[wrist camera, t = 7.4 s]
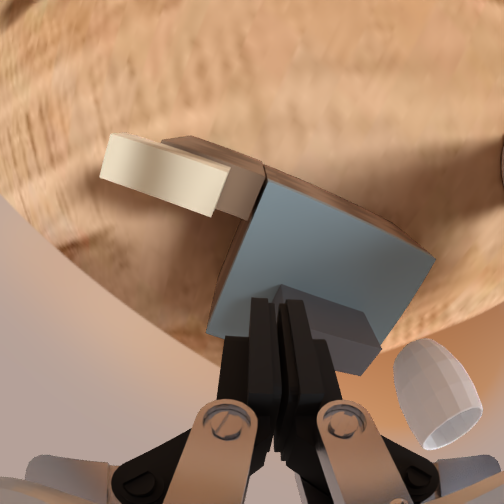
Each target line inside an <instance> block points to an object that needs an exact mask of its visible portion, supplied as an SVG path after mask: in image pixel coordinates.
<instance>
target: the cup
mask: <svg viewBox="0 0 504 504" xmlns="http://www.w3.org/2000/svg"><path fill="white" fill-rule="evenodd" d="M393 368H394V369H393V370H394V383H395V387H396V392H397V397H398V401H399V404H400V408H401V410H402V412H403V414H404V416H405V418H406V421H407V423H408V425H409V427H410V429H411V431H412V432H413V433H414V435H415V437H416V439H417V440H418V442H419V443H420V445H421V446H422V448H423V449H426V450H434V449H438V448H441V447H443V446H446V445H448V444H450V443H452V442H454V441H455V440H457V439H459V438H460V437H461V436H463V435H464V434H465V433H467V432H468V431H469V430H470V429H471V428H472V427H473V426H474V425H475V424H476V423H477V422H478V420H479V419H480V417H481V416H482V412H483V407H482V404H481V401H480V399H479V396H478V394H477V391H476V389H475V386H474V384H473V382H472V380H471V379H470V377H469V375H468V374H467V372H466V370H465V369H464V367H463V365H462V364H461V363H460V362H459V361H458V360H457V359H456V358H455V357H454V356H453V355H452V354H451V353H450V352H449V351H448V350H447V349H446V348H445V347H444V346H442V345H441V344H439V343H437V342H436V341H434V340H433V339H428V338H424V339H419V340H416V341H413V342H410V343H409V344H407V345H406V346H405V347H404V348H403V350H402V351H401V352H400V353H399V354H398V356H397V358H396V359H395V362H394V366H393Z"/></svg>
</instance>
